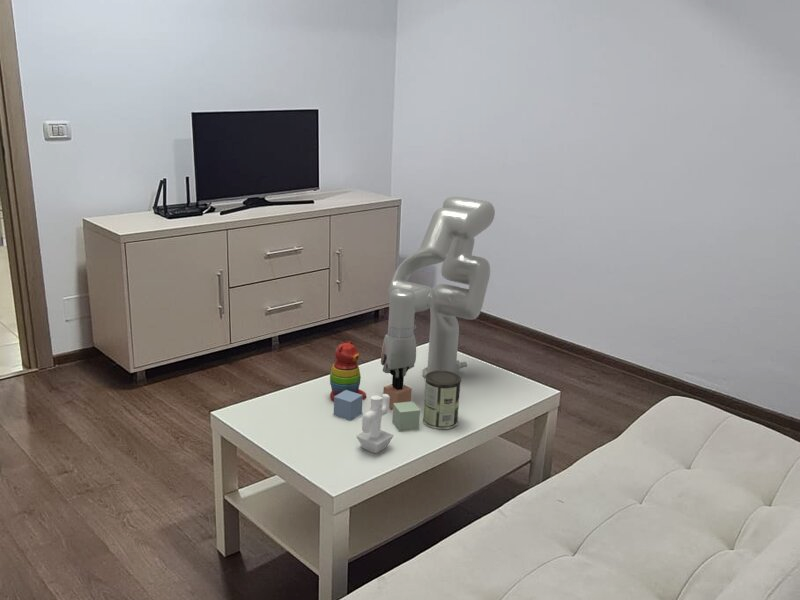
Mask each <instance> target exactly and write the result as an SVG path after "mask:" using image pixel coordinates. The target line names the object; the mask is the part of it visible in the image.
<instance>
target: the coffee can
mask: <svg viewBox="0 0 800 600" xmlns="http://www.w3.org/2000/svg"><path fill="white" fill-rule="evenodd" d="M424 379H425V381H424V382H425V383H424V399H423V401H424V402H423V416H422V417H423V418H422V422H423V424H424V425H425V426H426V427H429V428H431V429H436V430H450V429H453V428H455V427H456V426H458V423H459V422H458V418H459V417H458V416H459V404H460V395H461V394H460V392H461V382H462V377H461V375H460V376H459V375H458V374H456V373H453V372H449V371H432V372H429V373H427V374H426V376H425V377H424Z"/></svg>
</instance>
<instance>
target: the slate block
mask: <svg viewBox="0 0 800 600" xmlns="http://www.w3.org/2000/svg"><path fill="white" fill-rule="evenodd" d="M363 401H364V400H363V395H361V394H358V393H355V392H351V391H348V390H345V391H343V392H341V393H340V394H338V395H336V396H334V402H333V416H335V417H338V418H341V419H343V420H347V421H352V420H354V419H355V418H357V417H359V416H360V415H362V414H363Z"/></svg>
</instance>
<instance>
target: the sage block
mask: <svg viewBox="0 0 800 600" xmlns="http://www.w3.org/2000/svg"><path fill="white" fill-rule="evenodd" d="M420 414H421V410H420V408H419V407H418V406H417V404H416V403H415V402H414V401H412V400H411V402H401V403H393V410H392V424H393V425H394V426H395V428H396V429H397V431H398V432H405V431H413V430H419V429H420V419H421V418H420V417H421V415H420Z"/></svg>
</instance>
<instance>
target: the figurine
mask: <svg viewBox="0 0 800 600" xmlns="http://www.w3.org/2000/svg"><path fill="white" fill-rule="evenodd" d="M389 402H390V397H389V395H387V394H382V395H381V396H380V395H373V396H371V397H370V410H368V411H366V412H365V413H364V414H363V416H362V421H361V422H362V423H361V426H362V427H361V431H362V432H361V433H358V434H357V435H356V438H357V441H358V442H359V443H360V445H361V447H362V448H363V449H365V451H369V452H372V453H374V454H377V453H379V452H381V451H382V450H384V449H385V448H386V449H387V446H388V444H389V443H390V442H391V441H392V439H393V437H394V434H392V433H389V432H387V431H385V430H383V429H381V425H382V417H383V416H385V415H386V414H388V413H389V411H390V408H389Z"/></svg>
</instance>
